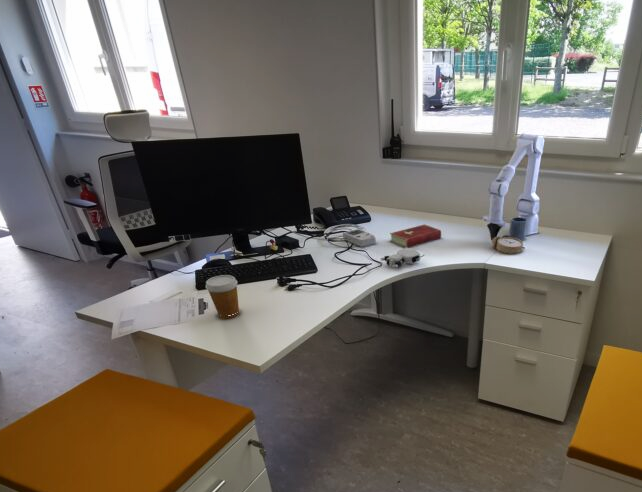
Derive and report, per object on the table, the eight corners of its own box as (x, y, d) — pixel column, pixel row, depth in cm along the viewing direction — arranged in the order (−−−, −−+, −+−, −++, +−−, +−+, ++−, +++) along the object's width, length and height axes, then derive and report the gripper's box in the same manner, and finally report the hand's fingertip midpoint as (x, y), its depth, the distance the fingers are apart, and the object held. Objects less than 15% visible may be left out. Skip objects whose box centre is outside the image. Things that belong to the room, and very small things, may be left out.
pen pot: (516, 235, 217) (519, 216, 212) (527, 239, 212) (530, 220, 207) (505, 238, 214) (507, 218, 209) (516, 242, 208) (518, 222, 204)
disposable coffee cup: (218, 308, 152) (209, 275, 146) (247, 307, 153) (239, 274, 147) (209, 321, 144) (200, 287, 138) (240, 320, 145) (232, 286, 139)
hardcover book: (441, 238, 213) (441, 229, 211) (406, 248, 202) (406, 239, 200) (424, 232, 221) (424, 223, 219) (390, 241, 210) (390, 232, 207)
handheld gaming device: (361, 248, 202) (361, 239, 200) (343, 240, 212) (342, 231, 210) (377, 244, 207) (377, 235, 205) (358, 236, 217) (358, 228, 215)
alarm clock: (510, 249, 192) (487, 234, 200) (508, 259, 195) (484, 244, 203) (528, 244, 197) (505, 229, 206) (526, 254, 200) (502, 239, 209)
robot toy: (396, 274, 179) (426, 263, 186) (395, 263, 176) (425, 252, 183) (379, 265, 187) (408, 254, 194) (378, 254, 185) (407, 244, 191)
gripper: (478, 207, 202) (476, 237, 210) (500, 214, 192) (497, 246, 199) (490, 205, 206) (488, 234, 213) (512, 212, 195) (509, 243, 203)
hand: (493, 239), depth 206 cm, fingers closed
